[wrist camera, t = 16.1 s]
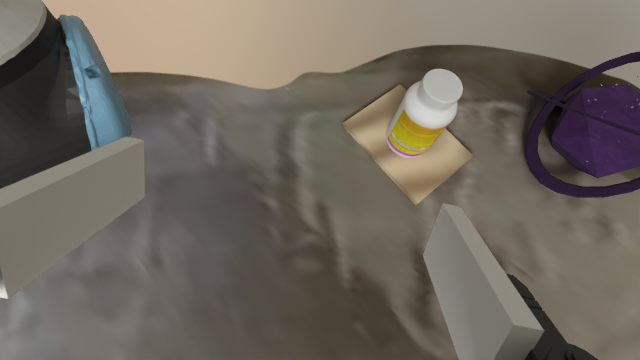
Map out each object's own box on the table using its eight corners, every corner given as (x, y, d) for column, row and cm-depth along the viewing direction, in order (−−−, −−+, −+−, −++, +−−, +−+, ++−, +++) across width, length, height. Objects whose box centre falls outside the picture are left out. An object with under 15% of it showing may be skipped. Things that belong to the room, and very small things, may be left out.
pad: (342, 125, 50) (343, 122, 50) (398, 88, 54) (400, 84, 53) (415, 205, 47) (418, 203, 46) (470, 159, 50) (473, 156, 49)
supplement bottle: (427, 163, 48) (471, 115, 36) (382, 155, 48) (412, 103, 36) (429, 124, 51) (471, 67, 39) (387, 116, 50) (416, 56, 39)
